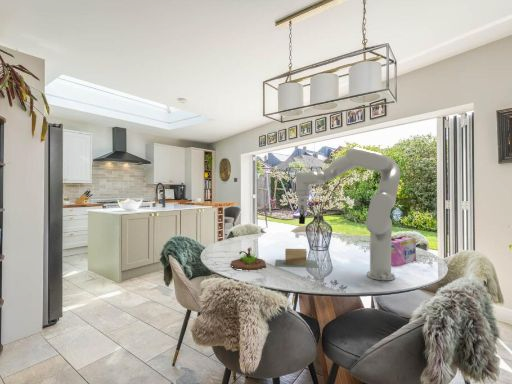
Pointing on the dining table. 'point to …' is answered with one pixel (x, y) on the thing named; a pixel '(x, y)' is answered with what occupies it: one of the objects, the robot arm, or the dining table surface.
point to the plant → (248, 262)
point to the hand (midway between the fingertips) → (302, 222)
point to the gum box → (402, 250)
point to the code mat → (309, 265)
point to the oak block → (296, 256)
